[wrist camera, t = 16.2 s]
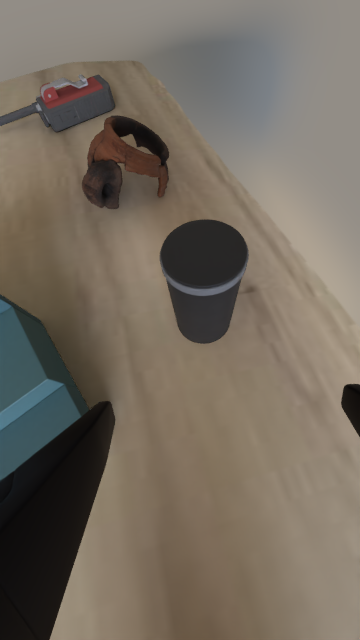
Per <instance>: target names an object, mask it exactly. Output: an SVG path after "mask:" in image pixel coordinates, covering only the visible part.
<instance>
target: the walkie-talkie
mask: <svg viewBox="0 0 360 640" xmlns="http://www.w3.org/2000/svg"><path fill="white" fill-rule="evenodd" d="M79 78H80V79H81V80H80V81H77V82H72V81H70V80H68V79H65V78H61V79H58V80H55V81H53V82H52V83H47V84H44V85H42V86H41V89H40V92H41V95H39V96H37V97H36V101H37V102H35V103H32V105H30V106H27V107H25V108H22V109H19V110H17V111H14V112H11V113H9V114H6V115H4V116H1V117H0V126H2V125H5V124H7V123H10V122H12V121H15V120H18V119H20V118H23V117H26V116H28V115H31V114H34V113H39V114H40V116H41V118H42V120H43V122H44V124H45V125H46V127H49V124H50V125H51V127H52V128H53V130H54V131H56V132H58V131H61V130H64V129H66V128H69V127H71V126H74V125H76V124H79V123H81V122H84V121H86V120H89V119H91V118H94V117H96V116H98V115H101V114H103V113H106V112H108V111H111V110H112V109H113V108H114V107H115V104H114V100H113V96H112V93H111V89H110V86H109V84H108V82H107V81H105V80H104V79H103V78H102V77H101V76H100V75H96V76H93V77H90V78H88V79H86V78H85V77H84V76H83V75H81V74H80V75H79ZM66 84H70V85H69V86H66V87H64V88H61V89H57V90H55V88H58V87H61V86H63V85H66Z"/></svg>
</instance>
